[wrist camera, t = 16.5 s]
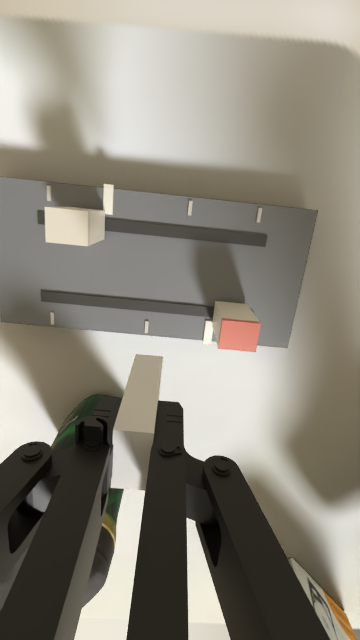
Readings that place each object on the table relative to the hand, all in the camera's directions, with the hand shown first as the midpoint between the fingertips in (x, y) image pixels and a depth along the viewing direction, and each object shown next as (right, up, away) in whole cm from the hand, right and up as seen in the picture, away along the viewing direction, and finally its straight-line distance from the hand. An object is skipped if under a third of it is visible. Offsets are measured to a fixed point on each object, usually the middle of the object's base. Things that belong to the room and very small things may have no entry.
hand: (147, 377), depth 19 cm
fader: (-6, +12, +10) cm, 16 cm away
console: (-1, +9, +14) cm, 17 cm away
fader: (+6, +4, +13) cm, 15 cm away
